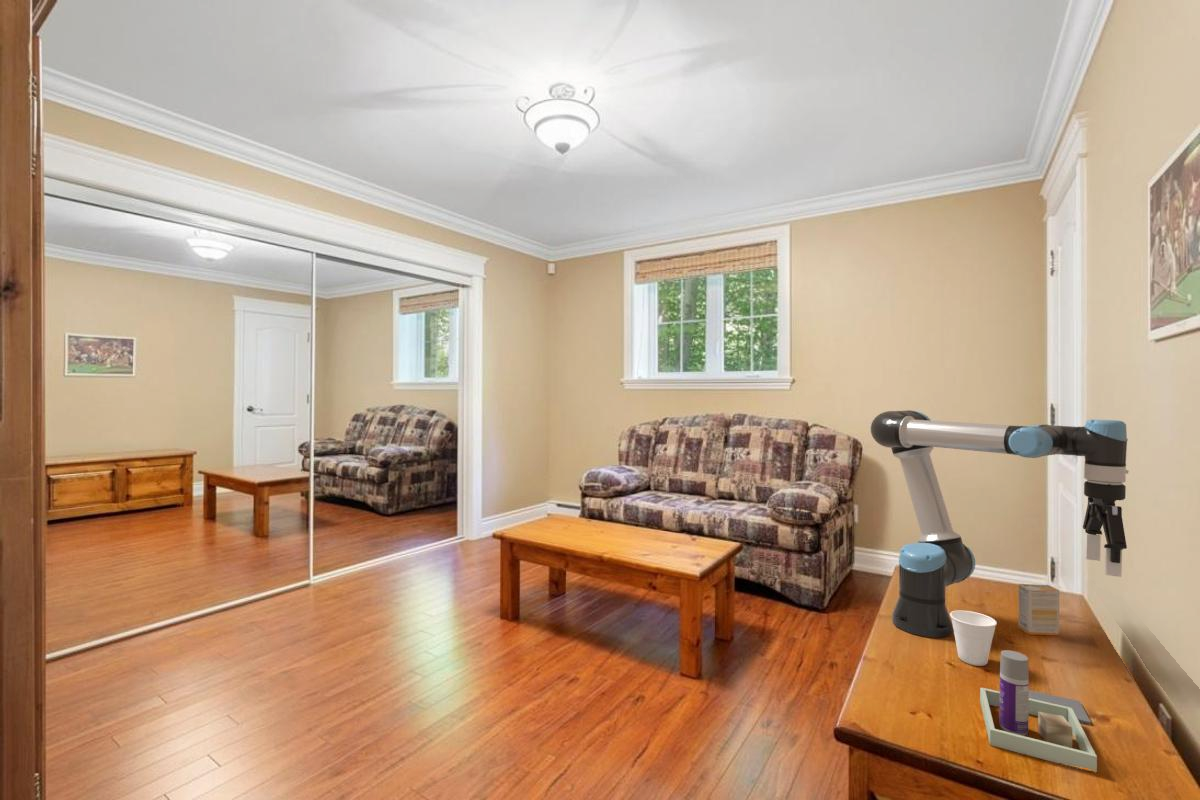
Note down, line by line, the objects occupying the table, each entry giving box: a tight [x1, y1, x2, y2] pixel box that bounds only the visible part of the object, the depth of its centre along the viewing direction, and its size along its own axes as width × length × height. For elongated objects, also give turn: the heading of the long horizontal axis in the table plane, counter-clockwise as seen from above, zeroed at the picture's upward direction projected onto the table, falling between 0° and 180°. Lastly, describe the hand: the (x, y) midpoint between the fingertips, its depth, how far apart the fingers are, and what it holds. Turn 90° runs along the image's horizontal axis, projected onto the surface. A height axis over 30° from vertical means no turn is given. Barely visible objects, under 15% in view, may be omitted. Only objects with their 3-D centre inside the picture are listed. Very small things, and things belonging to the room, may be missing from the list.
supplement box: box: [1018, 583, 1060, 637], centre depth 155 cm, size 8×5×13 cm, turn 84°
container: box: [998, 649, 1030, 737], centre depth 110 cm, size 5×5×15 cm
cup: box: [949, 609, 998, 667], centre depth 138 cm, size 10×10×11 cm
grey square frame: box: [979, 687, 1098, 772], centre depth 108 cm, size 16×18×3 cm
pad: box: [1029, 689, 1092, 726], centre depth 117 cm, size 9×9×1 cm
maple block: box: [1037, 712, 1073, 748], centre depth 107 cm, size 4×4×4 cm
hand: (1102, 567), depth 134 cm, fingers open, 13 cm apart
